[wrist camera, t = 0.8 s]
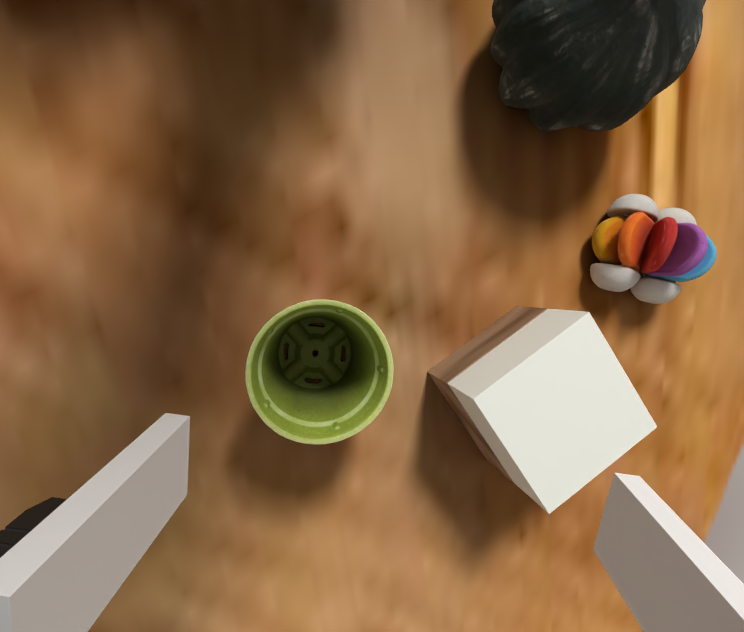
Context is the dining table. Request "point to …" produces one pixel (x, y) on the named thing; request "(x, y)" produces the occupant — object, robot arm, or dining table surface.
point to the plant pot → (319, 372)
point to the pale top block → (554, 405)
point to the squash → (590, 57)
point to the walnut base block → (472, 354)
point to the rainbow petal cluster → (649, 249)
